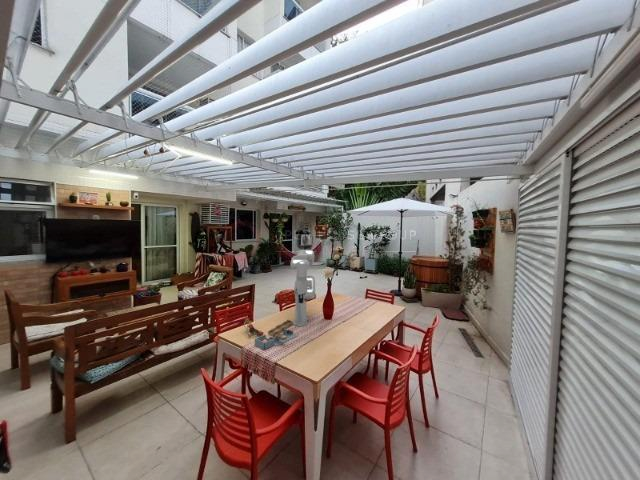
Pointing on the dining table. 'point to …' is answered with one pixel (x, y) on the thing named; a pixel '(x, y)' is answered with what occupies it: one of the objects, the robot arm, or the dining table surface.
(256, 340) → the tray
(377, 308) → the dining table surface
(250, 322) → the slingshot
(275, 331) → the seesaw
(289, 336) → the fulcrum
